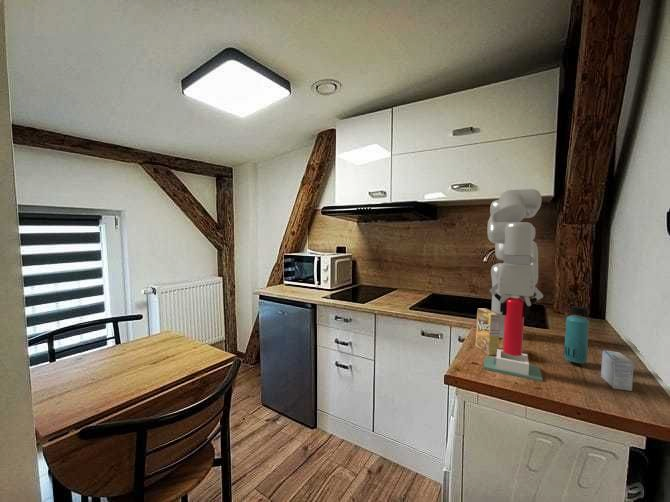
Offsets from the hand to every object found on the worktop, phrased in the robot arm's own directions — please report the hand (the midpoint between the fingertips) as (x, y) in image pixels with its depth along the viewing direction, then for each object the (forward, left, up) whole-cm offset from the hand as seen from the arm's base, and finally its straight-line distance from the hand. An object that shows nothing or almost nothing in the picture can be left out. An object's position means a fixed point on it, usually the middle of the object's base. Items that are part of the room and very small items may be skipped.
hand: (514, 315), depth 98 cm
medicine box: (-5, +27, -18) cm, 33 cm away
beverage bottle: (-16, +19, -18) cm, 31 cm away
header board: (0, 0, -18) cm, 18 cm away
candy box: (-13, -8, -18) cm, 24 cm away
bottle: (0, 0, -13) cm, 13 cm away
